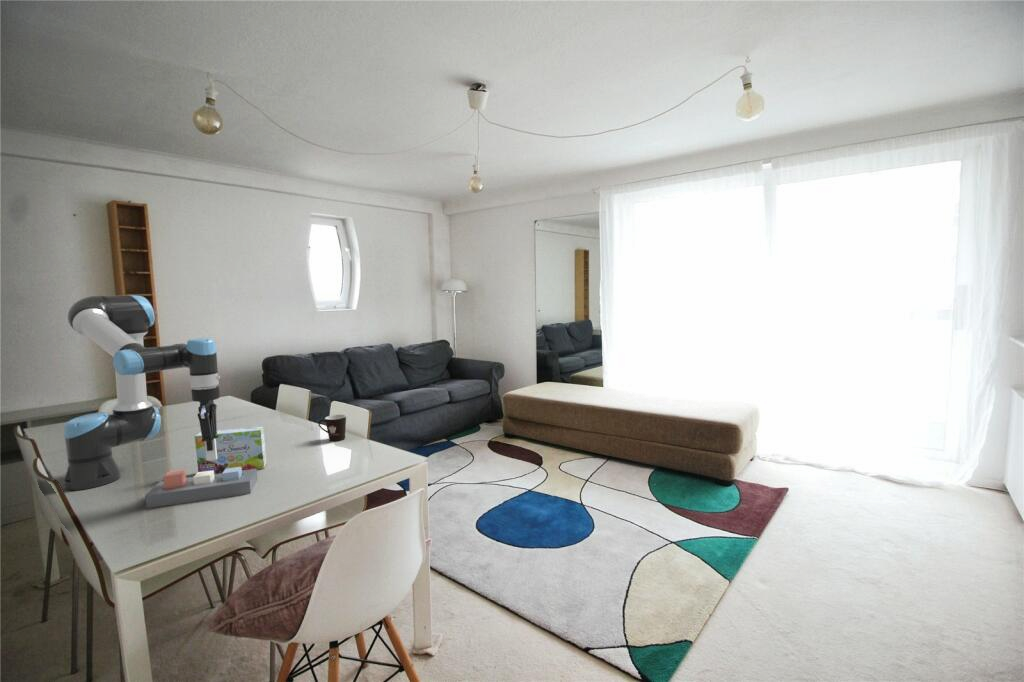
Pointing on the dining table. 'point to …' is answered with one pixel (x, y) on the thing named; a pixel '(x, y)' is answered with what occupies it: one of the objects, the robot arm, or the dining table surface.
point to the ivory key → (204, 477)
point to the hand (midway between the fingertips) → (211, 459)
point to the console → (201, 490)
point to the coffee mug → (335, 427)
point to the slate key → (232, 474)
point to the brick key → (174, 479)
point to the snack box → (234, 450)
